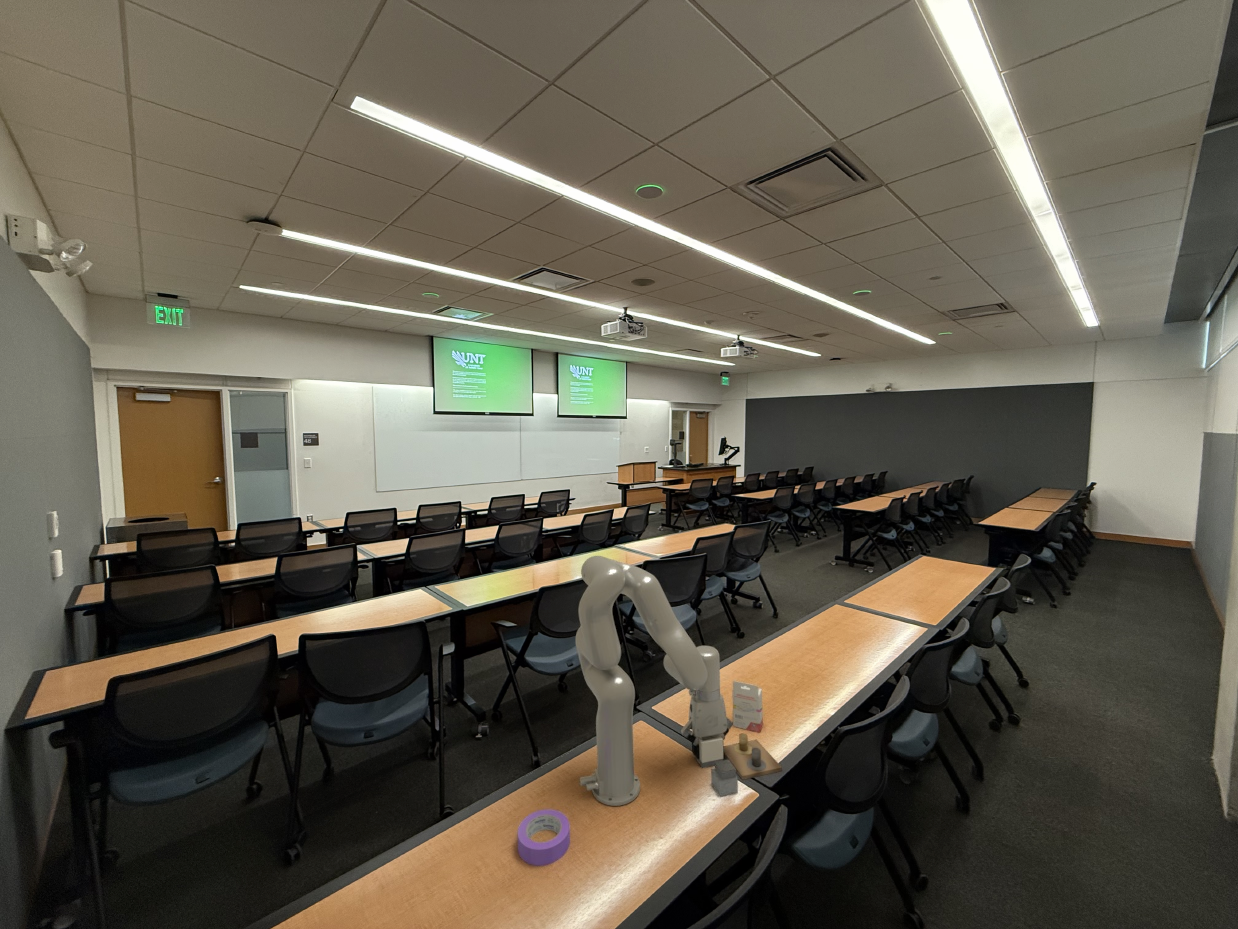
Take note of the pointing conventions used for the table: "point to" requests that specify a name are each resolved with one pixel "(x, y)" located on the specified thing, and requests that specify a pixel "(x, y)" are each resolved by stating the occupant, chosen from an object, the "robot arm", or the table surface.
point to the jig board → (750, 758)
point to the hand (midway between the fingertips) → (707, 753)
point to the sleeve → (710, 750)
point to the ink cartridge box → (747, 706)
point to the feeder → (724, 778)
